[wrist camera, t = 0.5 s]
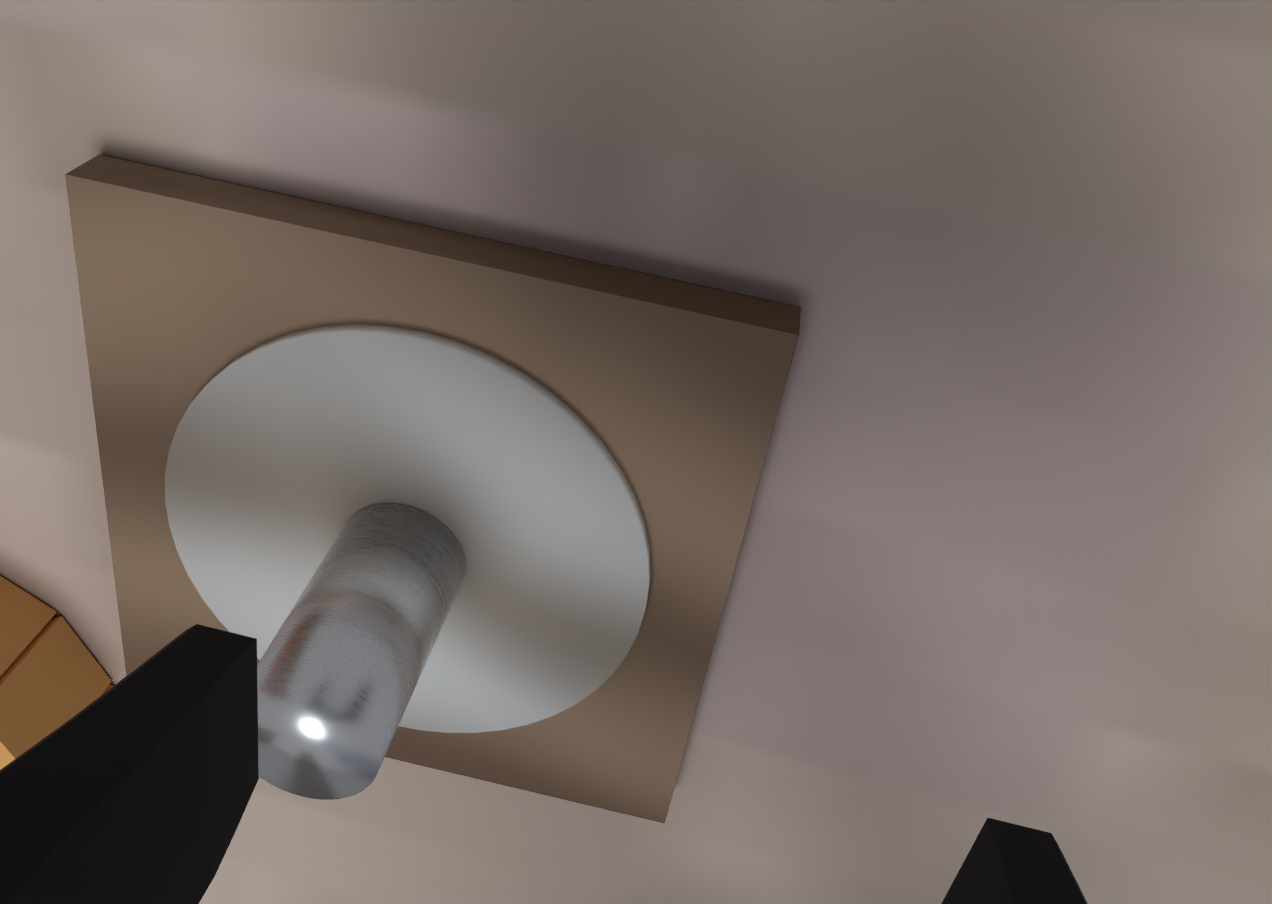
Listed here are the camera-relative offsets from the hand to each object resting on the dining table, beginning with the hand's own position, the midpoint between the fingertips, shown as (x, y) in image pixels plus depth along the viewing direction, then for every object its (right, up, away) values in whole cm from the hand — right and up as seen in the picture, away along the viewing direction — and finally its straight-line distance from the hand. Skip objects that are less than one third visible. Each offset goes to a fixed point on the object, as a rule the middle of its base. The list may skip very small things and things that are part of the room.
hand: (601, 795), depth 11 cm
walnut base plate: (-4, +2, +11) cm, 12 cm away
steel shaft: (-4, +2, +11) cm, 12 cm away
